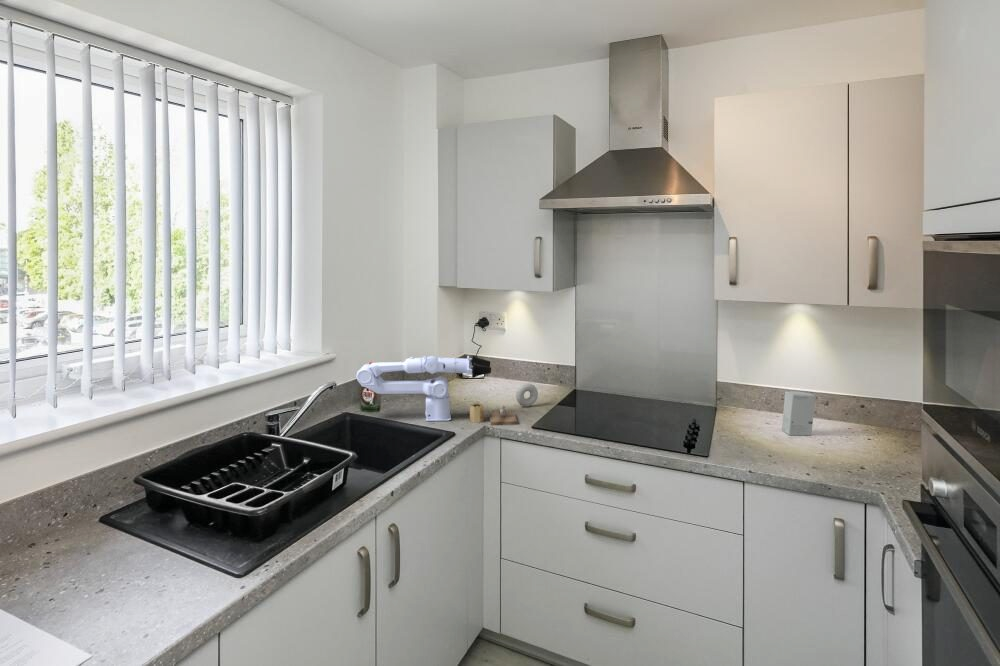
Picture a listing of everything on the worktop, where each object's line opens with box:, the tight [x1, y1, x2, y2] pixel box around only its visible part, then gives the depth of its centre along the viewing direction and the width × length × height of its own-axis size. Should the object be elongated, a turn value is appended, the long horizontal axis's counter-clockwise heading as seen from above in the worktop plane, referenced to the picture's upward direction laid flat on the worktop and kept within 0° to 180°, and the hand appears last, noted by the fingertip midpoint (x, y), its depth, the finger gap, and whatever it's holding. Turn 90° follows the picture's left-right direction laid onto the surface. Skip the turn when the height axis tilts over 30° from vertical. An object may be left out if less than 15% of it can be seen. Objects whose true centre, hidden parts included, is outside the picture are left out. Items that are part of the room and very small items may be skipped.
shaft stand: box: [488, 405, 518, 426], centre depth 216 cm, size 10×13×6 cm
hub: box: [469, 403, 485, 423], centre depth 215 cm, size 5×5×6 cm
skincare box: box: [781, 390, 816, 436], centre depth 200 cm, size 8×6×15 cm
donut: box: [515, 382, 539, 407], centre depth 235 cm, size 10×4×10 cm, turn 113°
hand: (490, 367), depth 217 cm, fingers open, 7 cm apart
